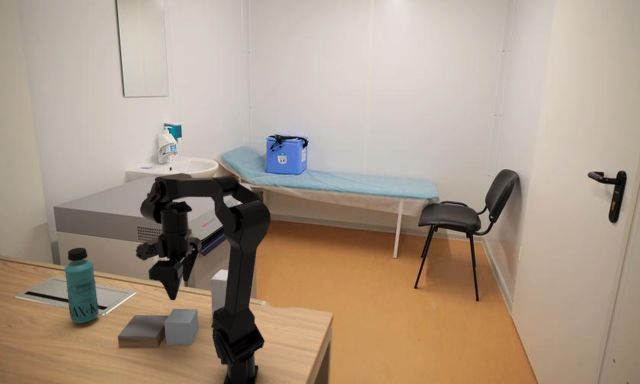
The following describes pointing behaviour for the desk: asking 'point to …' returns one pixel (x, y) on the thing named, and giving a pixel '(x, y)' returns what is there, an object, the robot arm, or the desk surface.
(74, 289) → the beverage bottle
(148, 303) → the desk surface
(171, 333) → the cube
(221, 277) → the skincare box
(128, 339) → the base
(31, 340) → the desk surface
